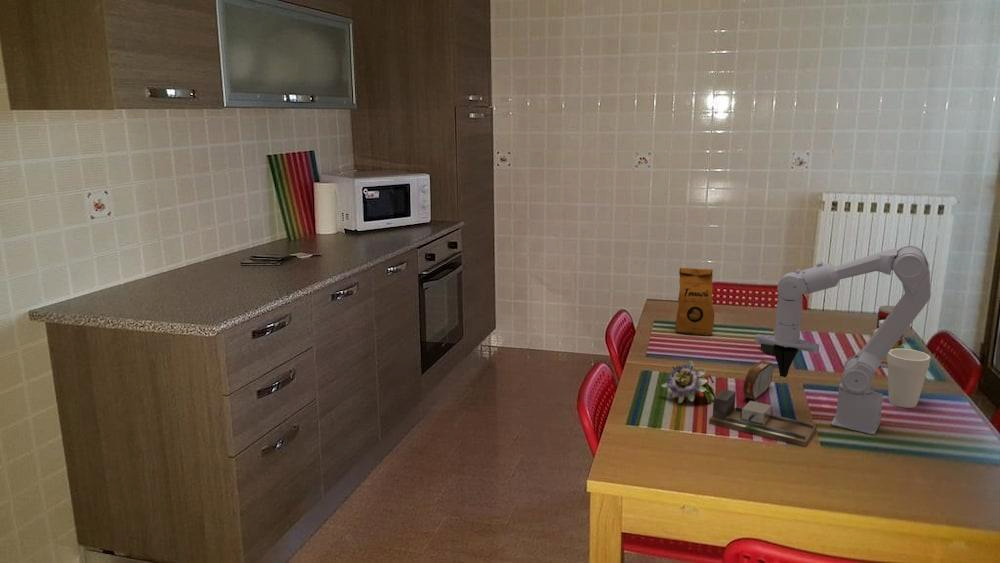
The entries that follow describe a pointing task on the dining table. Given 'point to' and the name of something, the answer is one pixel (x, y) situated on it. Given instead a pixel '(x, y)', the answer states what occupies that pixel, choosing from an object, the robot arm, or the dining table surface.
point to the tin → (758, 379)
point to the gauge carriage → (755, 412)
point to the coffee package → (695, 302)
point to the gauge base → (772, 429)
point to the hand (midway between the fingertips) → (783, 375)
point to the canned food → (883, 314)
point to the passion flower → (688, 383)
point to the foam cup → (906, 376)
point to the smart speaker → (767, 348)
